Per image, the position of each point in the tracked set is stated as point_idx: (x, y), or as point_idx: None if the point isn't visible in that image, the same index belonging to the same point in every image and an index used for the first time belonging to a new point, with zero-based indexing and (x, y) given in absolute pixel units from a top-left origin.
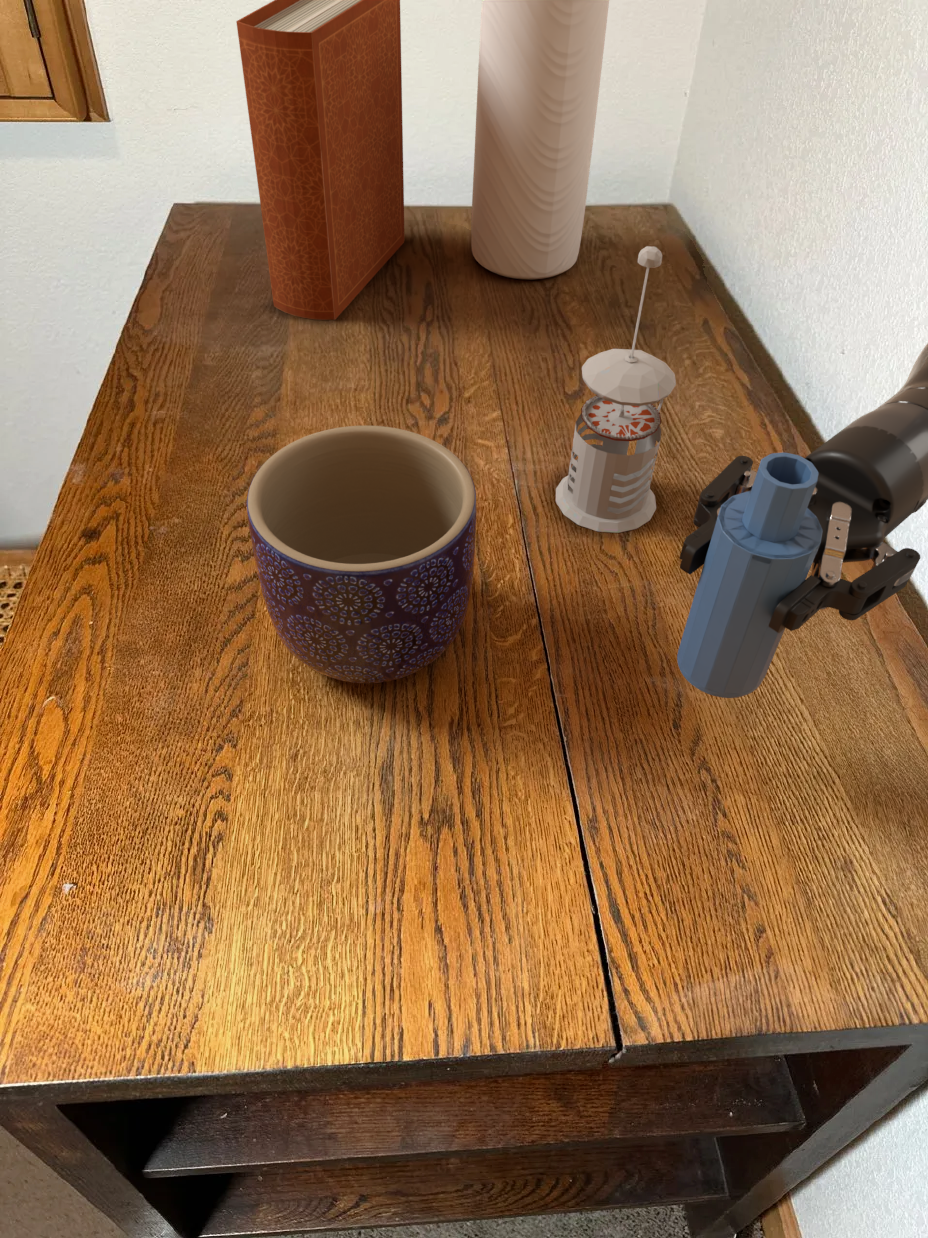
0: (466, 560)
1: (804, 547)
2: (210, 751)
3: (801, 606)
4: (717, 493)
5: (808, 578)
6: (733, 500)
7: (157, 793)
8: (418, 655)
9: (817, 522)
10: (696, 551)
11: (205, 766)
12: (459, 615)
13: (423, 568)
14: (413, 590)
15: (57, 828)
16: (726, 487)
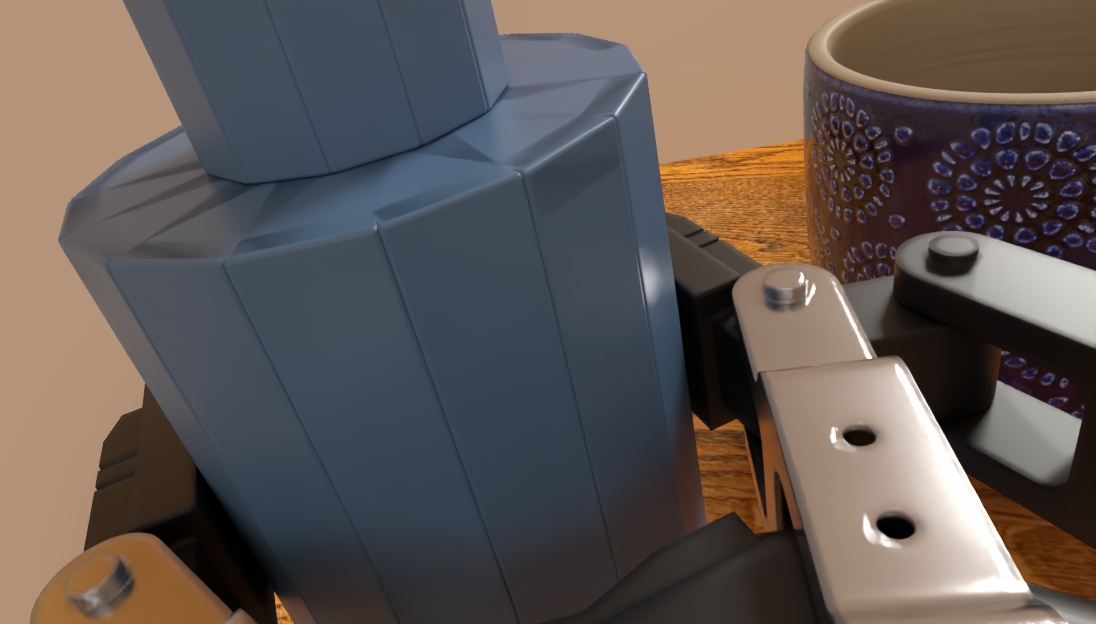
0: (946, 205)
1: (114, 187)
2: (756, 236)
3: (136, 439)
4: (975, 283)
5: (192, 486)
6: (590, 47)
7: (707, 214)
8: None
9: (176, 253)
10: None
11: (735, 235)
12: None
13: (836, 104)
14: (823, 142)
15: (684, 176)
16: (1052, 320)
